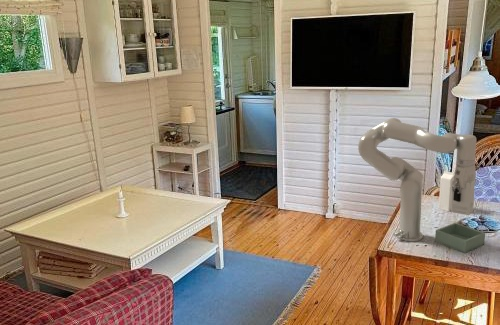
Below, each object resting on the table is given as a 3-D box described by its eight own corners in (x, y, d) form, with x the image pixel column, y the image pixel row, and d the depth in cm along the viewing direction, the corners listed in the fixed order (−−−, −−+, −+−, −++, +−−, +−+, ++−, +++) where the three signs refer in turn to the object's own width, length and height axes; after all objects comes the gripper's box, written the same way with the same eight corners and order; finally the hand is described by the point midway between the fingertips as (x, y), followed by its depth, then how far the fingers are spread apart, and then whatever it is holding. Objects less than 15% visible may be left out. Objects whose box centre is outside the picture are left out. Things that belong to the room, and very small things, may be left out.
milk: (448, 211, 249) (450, 174, 243) (438, 208, 254) (440, 171, 248) (454, 208, 253) (456, 171, 247) (444, 206, 258) (446, 169, 252)
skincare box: (473, 211, 207) (476, 179, 203) (469, 216, 202) (471, 183, 198) (454, 208, 212) (456, 176, 208) (449, 212, 208) (452, 180, 204)
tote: (464, 253, 201) (465, 241, 200) (435, 241, 214) (435, 230, 213) (484, 244, 208) (485, 233, 207) (454, 233, 221) (455, 222, 220)
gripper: (460, 167, 194) (458, 205, 198) (484, 160, 202) (481, 197, 207) (445, 164, 200) (443, 201, 205) (469, 157, 208) (466, 193, 213)
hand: (462, 198), depth 206 cm, fingers closed on skincare box, 7 cm apart
